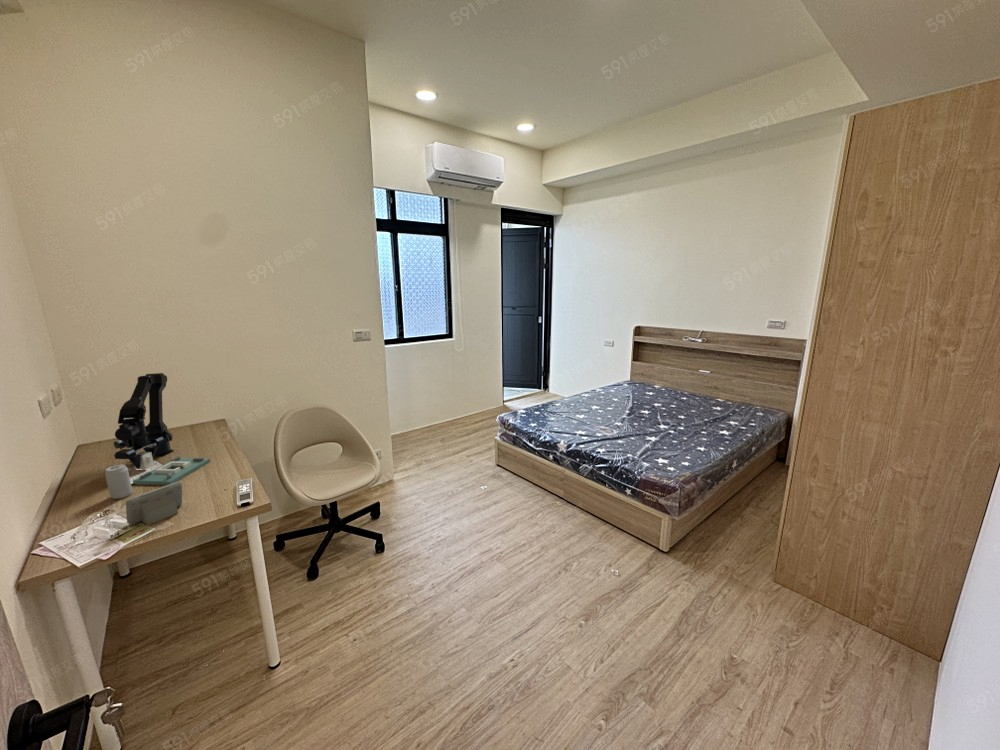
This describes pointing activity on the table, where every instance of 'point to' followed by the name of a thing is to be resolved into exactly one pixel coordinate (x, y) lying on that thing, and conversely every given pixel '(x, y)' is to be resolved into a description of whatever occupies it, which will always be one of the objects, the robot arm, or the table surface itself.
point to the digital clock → (154, 504)
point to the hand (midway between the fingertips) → (144, 465)
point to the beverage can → (118, 481)
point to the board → (171, 471)
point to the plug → (146, 460)
